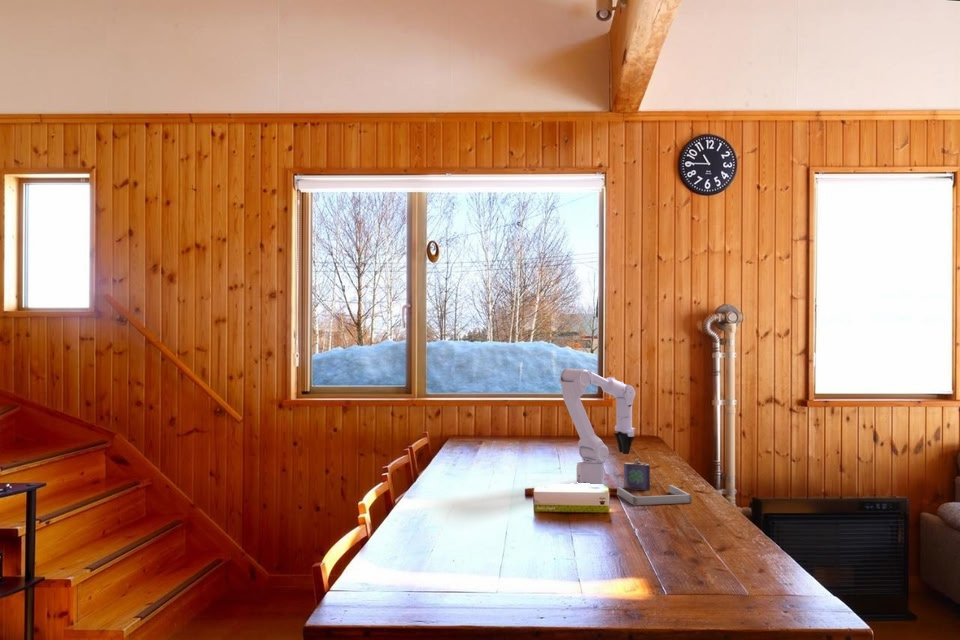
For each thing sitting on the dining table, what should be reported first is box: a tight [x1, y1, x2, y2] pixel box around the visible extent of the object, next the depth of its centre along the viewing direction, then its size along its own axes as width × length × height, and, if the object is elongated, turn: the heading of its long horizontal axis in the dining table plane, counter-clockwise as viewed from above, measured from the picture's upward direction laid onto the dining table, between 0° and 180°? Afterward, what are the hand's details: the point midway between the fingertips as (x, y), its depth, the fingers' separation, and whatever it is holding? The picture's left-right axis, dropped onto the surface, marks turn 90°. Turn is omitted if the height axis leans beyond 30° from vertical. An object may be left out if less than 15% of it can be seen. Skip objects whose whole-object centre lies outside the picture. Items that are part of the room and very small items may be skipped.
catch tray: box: [616, 484, 693, 506], centre depth 247 cm, size 20×15×2 cm
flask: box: [623, 458, 651, 492], centre depth 262 cm, size 9×3×11 cm, turn 65°
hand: (624, 453), depth 274 cm, fingers open, 3 cm apart
